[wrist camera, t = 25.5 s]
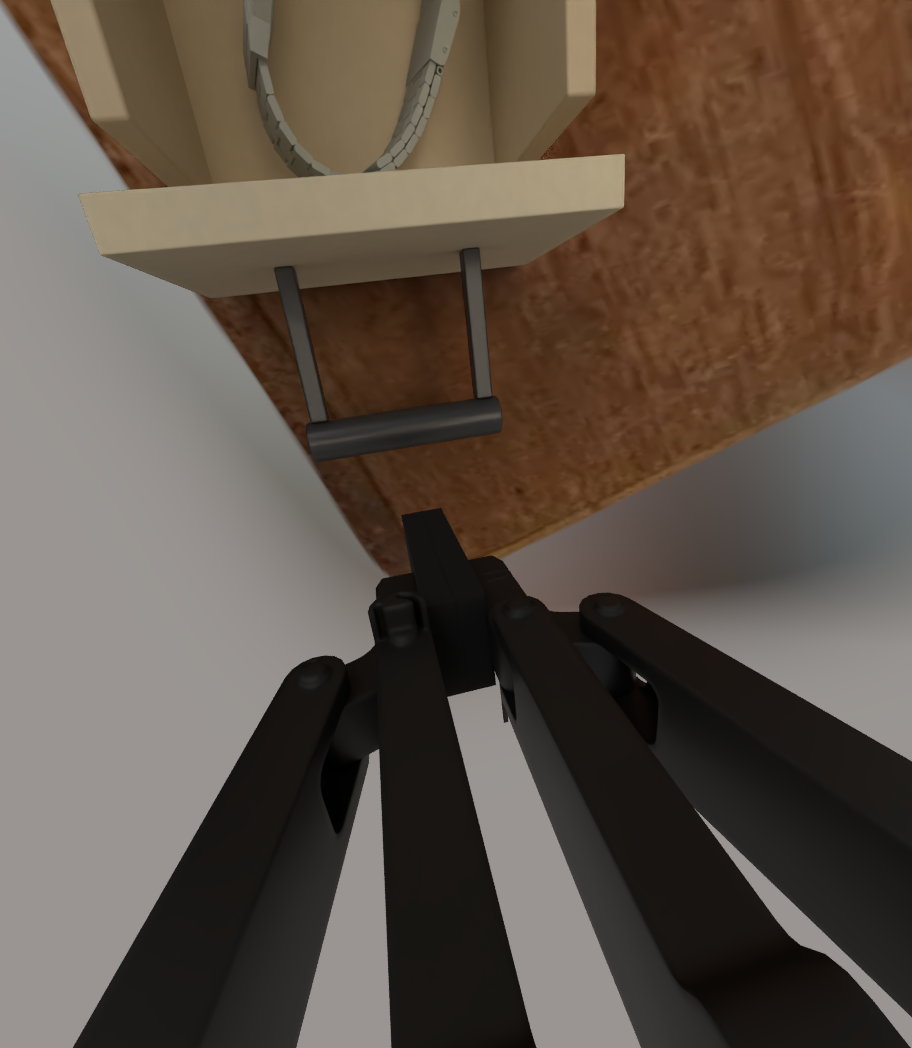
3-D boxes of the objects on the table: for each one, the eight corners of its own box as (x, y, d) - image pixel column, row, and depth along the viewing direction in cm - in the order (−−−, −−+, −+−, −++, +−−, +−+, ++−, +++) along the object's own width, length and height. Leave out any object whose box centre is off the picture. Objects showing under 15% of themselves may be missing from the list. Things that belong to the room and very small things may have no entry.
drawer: (534, 409, 21) (619, 434, 14) (255, 452, 19) (192, 506, 12) (499, -267, 14) (650, -970, 6) (32, -297, 12) (-489, -1322, 5)
